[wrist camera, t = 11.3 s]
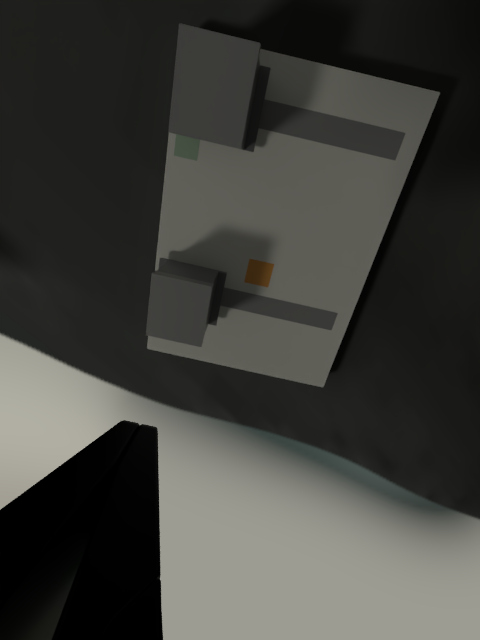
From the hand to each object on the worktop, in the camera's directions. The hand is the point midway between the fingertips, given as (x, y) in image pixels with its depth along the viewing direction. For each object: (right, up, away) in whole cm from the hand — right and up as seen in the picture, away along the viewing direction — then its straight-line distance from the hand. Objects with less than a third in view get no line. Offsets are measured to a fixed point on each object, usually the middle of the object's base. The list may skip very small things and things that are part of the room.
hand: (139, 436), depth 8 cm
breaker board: (+4, +7, +8) cm, 11 cm away
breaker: (+2, +11, +5) cm, 12 cm away
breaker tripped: (0, +4, +8) cm, 9 cm away
